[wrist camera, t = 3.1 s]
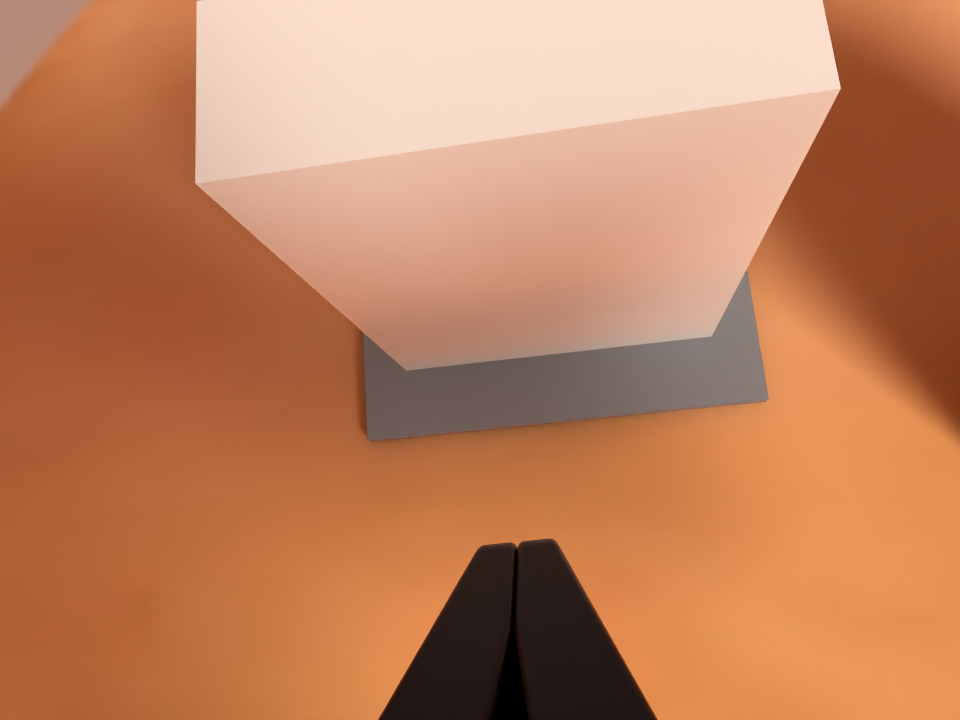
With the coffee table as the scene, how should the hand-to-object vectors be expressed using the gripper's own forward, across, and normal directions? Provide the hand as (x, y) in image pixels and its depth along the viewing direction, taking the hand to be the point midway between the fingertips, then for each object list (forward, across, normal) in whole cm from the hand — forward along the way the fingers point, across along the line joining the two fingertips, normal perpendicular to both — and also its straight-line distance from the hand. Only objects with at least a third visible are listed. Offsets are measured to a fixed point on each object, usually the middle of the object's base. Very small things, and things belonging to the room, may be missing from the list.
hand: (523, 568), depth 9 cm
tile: (+10, 0, +2) cm, 10 cm away
